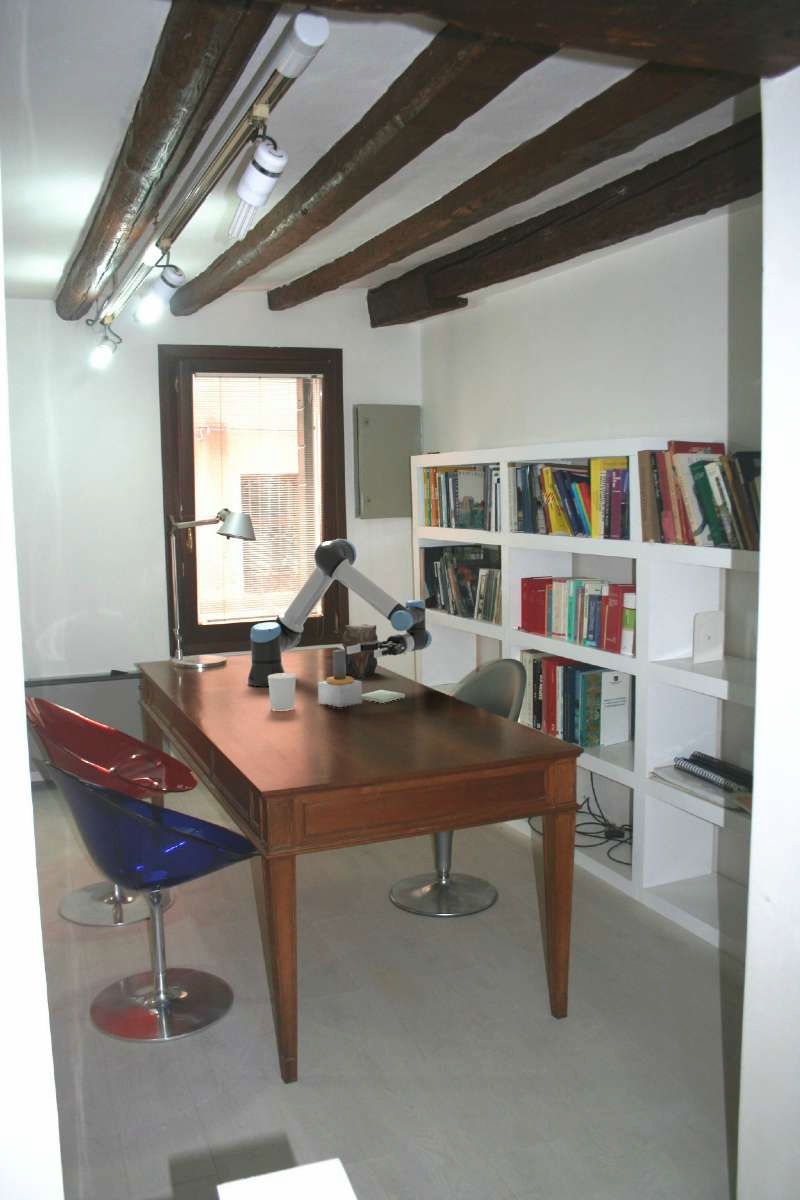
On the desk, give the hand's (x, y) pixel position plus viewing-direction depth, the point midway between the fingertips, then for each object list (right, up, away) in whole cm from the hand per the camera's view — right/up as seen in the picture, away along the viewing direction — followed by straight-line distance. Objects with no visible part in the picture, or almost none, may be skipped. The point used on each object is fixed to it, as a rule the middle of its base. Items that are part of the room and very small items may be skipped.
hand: (360, 652), depth 381 cm
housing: (-7, -18, -6) cm, 20 cm away
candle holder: (-27, -20, -13) cm, 36 cm away
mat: (+8, -17, +2) cm, 19 cm away
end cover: (-7, -16, -6) cm, 19 cm away
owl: (-2, -12, +47) cm, 49 cm away
